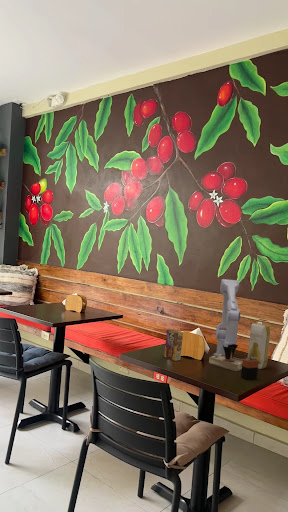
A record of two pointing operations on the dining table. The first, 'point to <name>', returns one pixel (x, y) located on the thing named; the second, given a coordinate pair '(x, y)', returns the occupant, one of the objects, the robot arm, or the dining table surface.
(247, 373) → the battery
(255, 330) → the juice carton
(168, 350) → the candy box
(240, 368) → the tray
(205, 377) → the dining table surface
